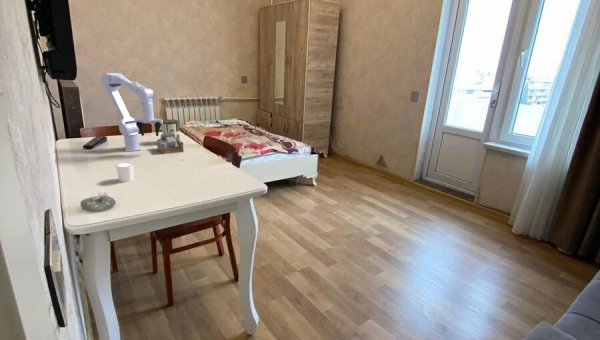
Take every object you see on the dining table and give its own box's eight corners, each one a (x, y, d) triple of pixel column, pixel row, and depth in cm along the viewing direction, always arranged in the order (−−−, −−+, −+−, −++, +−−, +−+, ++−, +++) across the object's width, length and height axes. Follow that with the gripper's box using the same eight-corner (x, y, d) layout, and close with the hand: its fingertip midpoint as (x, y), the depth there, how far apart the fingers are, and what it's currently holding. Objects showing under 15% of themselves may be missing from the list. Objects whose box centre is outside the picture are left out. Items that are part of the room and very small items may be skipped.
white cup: (123, 183, 141) (121, 168, 139) (114, 179, 144) (112, 165, 142) (138, 179, 147) (136, 164, 144) (129, 175, 150) (127, 161, 148)
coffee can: (173, 139, 216) (171, 118, 212) (183, 142, 211) (182, 121, 207) (159, 142, 208) (157, 120, 204) (169, 145, 203) (168, 123, 198)
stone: (167, 147, 189) (168, 141, 186) (165, 143, 191) (166, 137, 188) (175, 147, 191) (175, 141, 188) (173, 142, 194) (173, 136, 191)
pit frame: (157, 148, 195) (156, 138, 193) (177, 146, 201) (177, 137, 199) (162, 153, 185) (161, 143, 183) (183, 151, 191) (182, 141, 189)
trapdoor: (159, 138, 194) (159, 134, 192) (174, 137, 198) (174, 133, 196) (163, 148, 188) (163, 144, 186) (178, 147, 193) (179, 143, 191)
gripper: (163, 110, 182) (165, 134, 186) (136, 109, 180) (139, 133, 184) (159, 112, 175) (162, 137, 179) (131, 111, 173) (134, 136, 178)
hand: (150, 135), depth 181 cm, fingers open, 7 cm apart
